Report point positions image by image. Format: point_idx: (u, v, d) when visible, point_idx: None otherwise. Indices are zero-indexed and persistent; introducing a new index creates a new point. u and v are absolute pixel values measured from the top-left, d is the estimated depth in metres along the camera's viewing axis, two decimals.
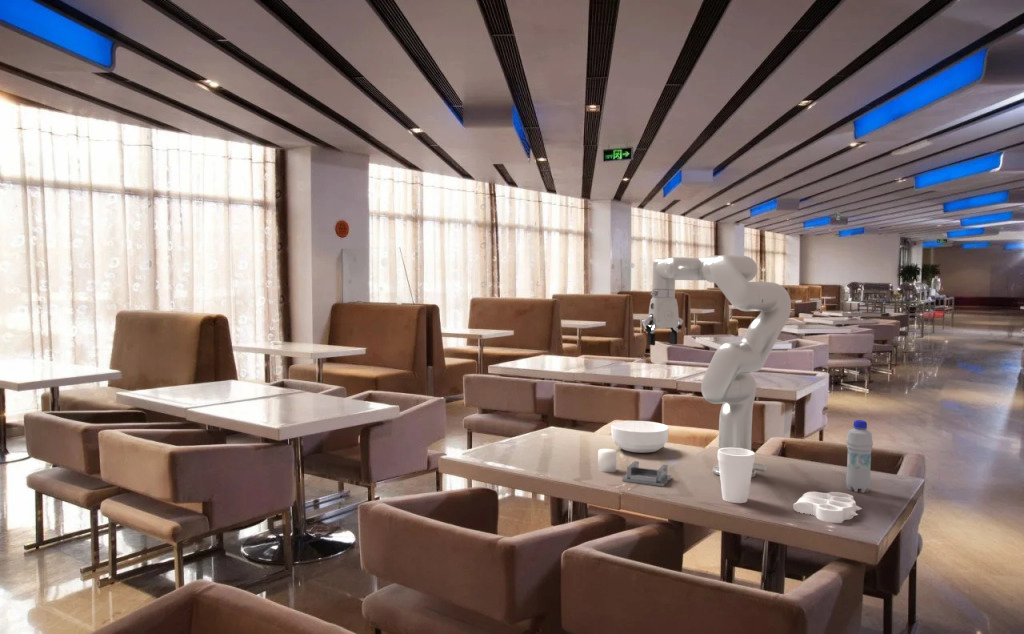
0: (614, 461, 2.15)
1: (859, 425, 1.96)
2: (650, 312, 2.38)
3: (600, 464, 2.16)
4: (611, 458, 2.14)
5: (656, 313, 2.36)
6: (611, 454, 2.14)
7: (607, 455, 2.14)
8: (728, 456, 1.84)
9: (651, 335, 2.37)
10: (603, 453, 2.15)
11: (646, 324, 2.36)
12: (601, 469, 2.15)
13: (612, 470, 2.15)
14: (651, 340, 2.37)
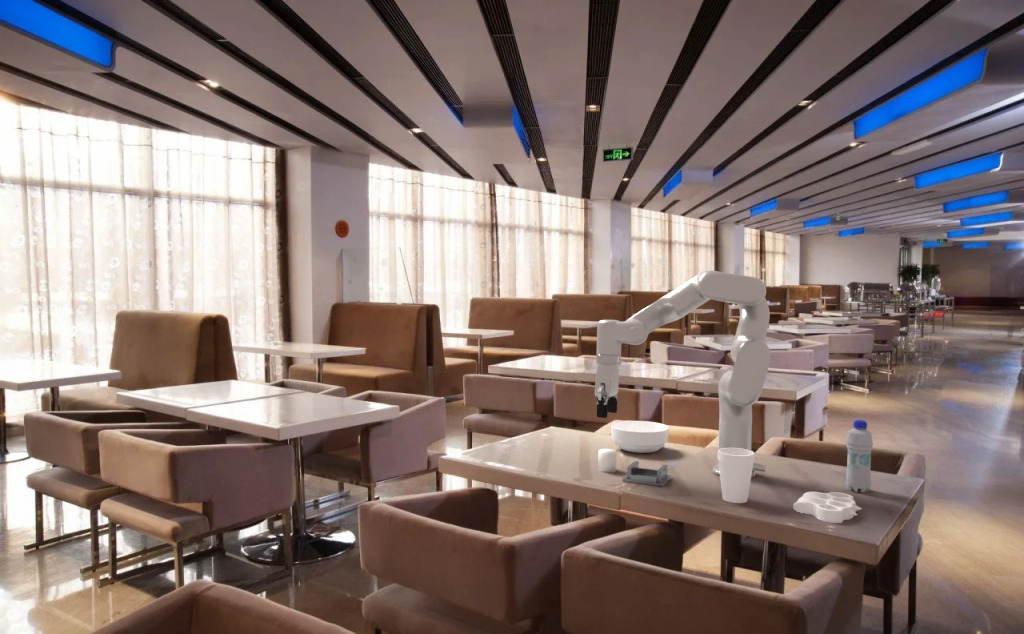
0: (614, 461, 2.15)
1: (859, 425, 1.96)
2: None
3: (600, 464, 2.16)
4: (611, 458, 2.14)
5: None
6: (611, 454, 2.14)
7: (607, 455, 2.14)
8: (728, 456, 1.84)
9: None
10: (603, 453, 2.15)
11: None
12: (601, 469, 2.15)
13: (612, 470, 2.15)
14: None
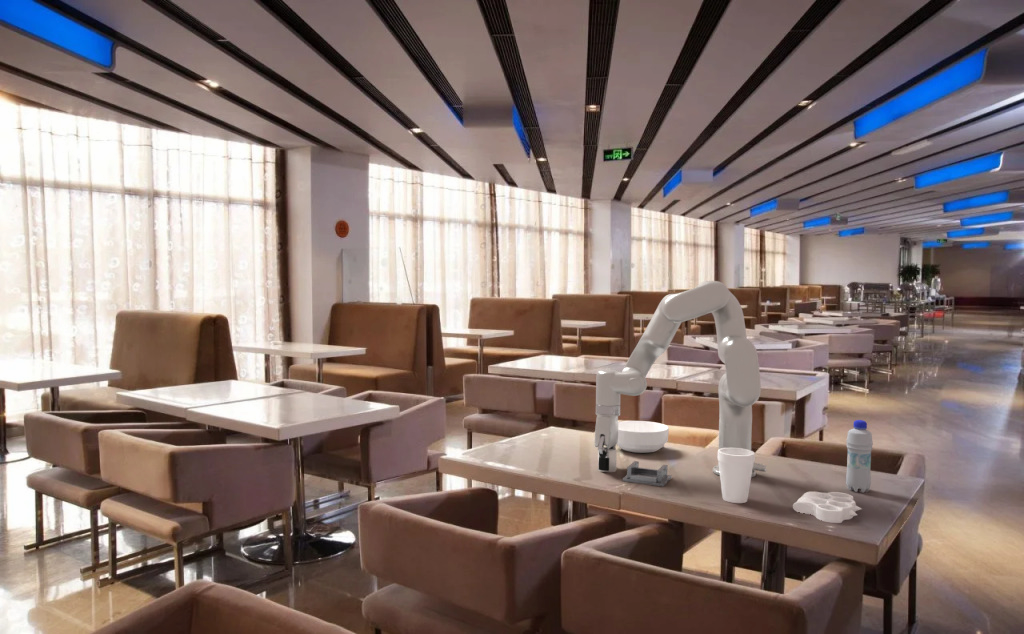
0: (614, 461, 2.15)
1: (859, 425, 1.96)
2: None
3: None
4: (611, 458, 2.14)
5: None
6: (611, 454, 2.14)
7: None
8: (728, 456, 1.84)
9: None
10: None
11: None
12: None
13: (612, 470, 2.15)
14: None
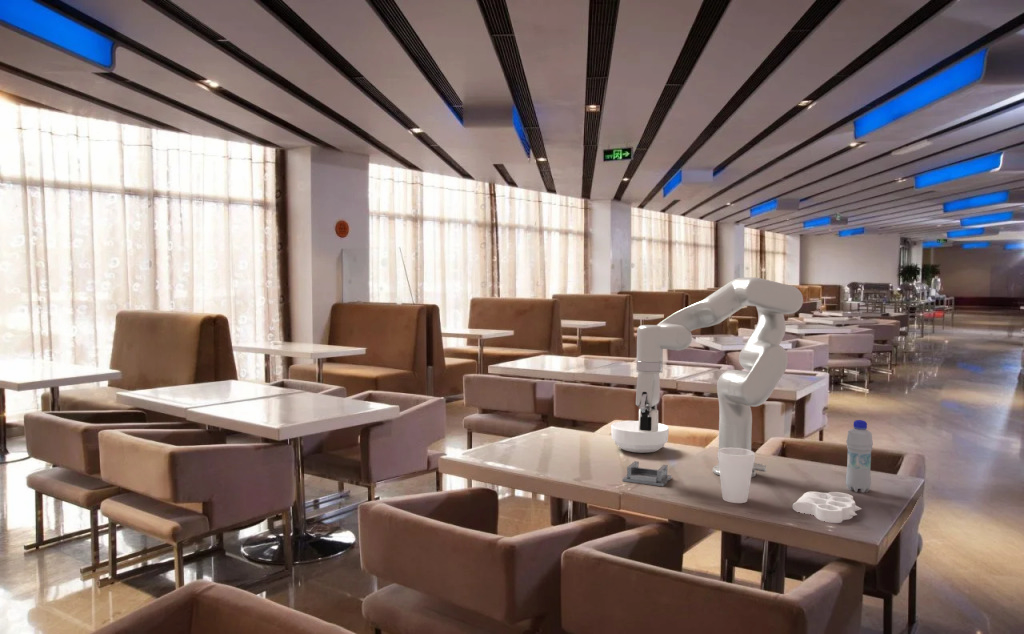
0: (656, 421, 2.04)
1: (859, 425, 1.96)
2: None
3: None
4: (653, 417, 2.03)
5: None
6: (653, 413, 2.03)
7: None
8: (728, 456, 1.84)
9: None
10: None
11: None
12: None
13: (654, 430, 2.04)
14: None
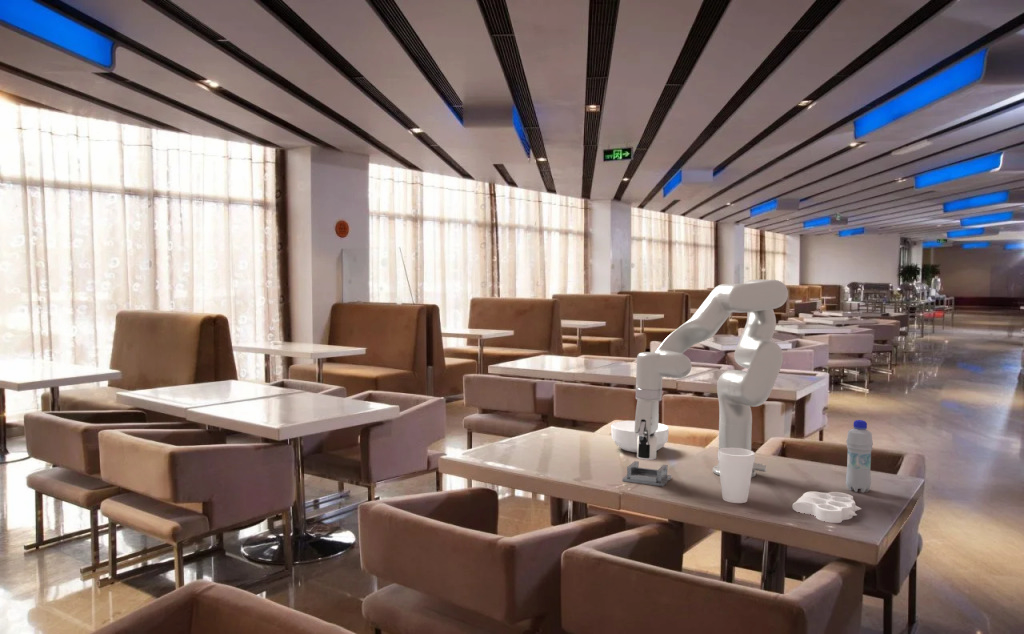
0: (654, 448, 2.04)
1: (859, 425, 1.96)
2: None
3: None
4: (651, 445, 2.04)
5: None
6: (651, 441, 2.03)
7: None
8: (728, 456, 1.84)
9: None
10: None
11: None
12: None
13: (652, 457, 2.04)
14: None
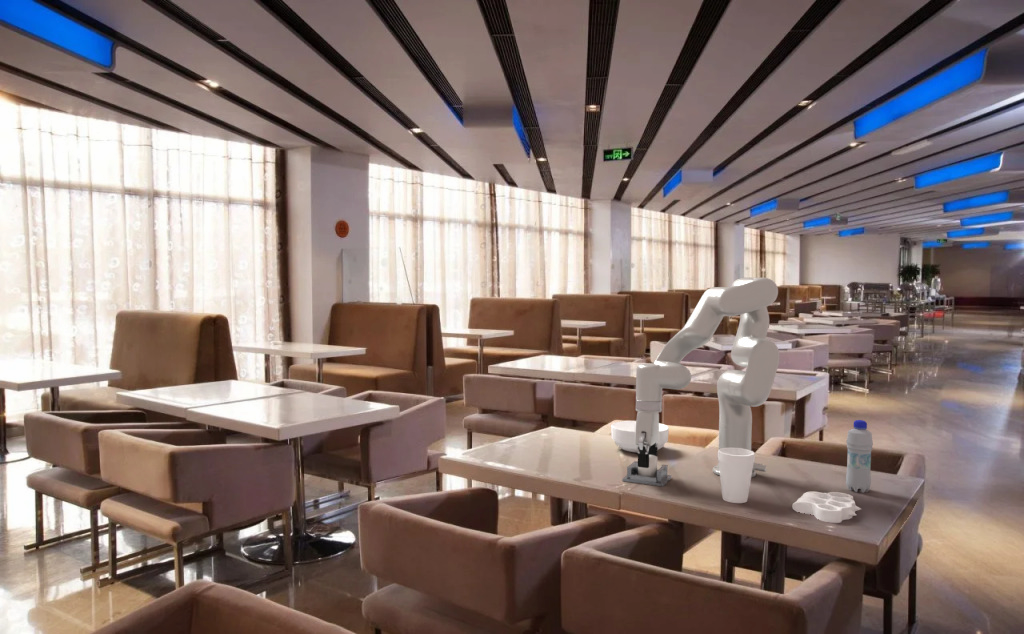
0: (655, 468, 2.05)
1: (859, 425, 1.96)
2: None
3: (640, 471, 2.05)
4: (652, 465, 2.04)
5: None
6: (652, 460, 2.04)
7: None
8: (728, 456, 1.84)
9: None
10: None
11: None
12: None
13: None
14: None
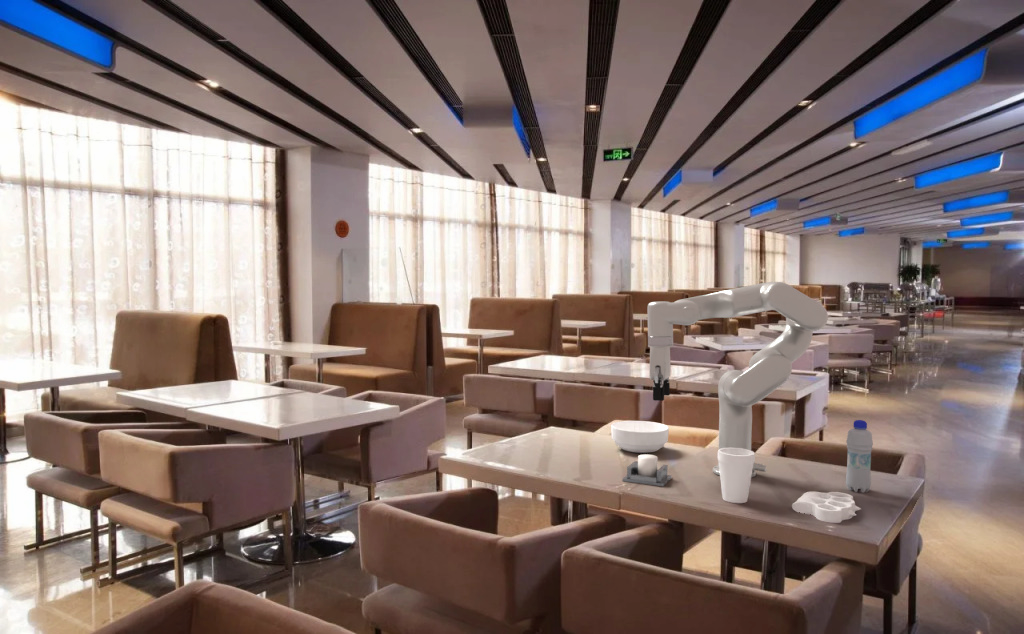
0: (655, 468, 2.05)
1: (859, 425, 1.96)
2: None
3: (640, 471, 2.05)
4: (652, 465, 2.04)
5: None
6: (652, 460, 2.04)
7: (648, 461, 2.04)
8: (728, 456, 1.84)
9: None
10: (644, 459, 2.04)
11: None
12: None
13: None
14: None
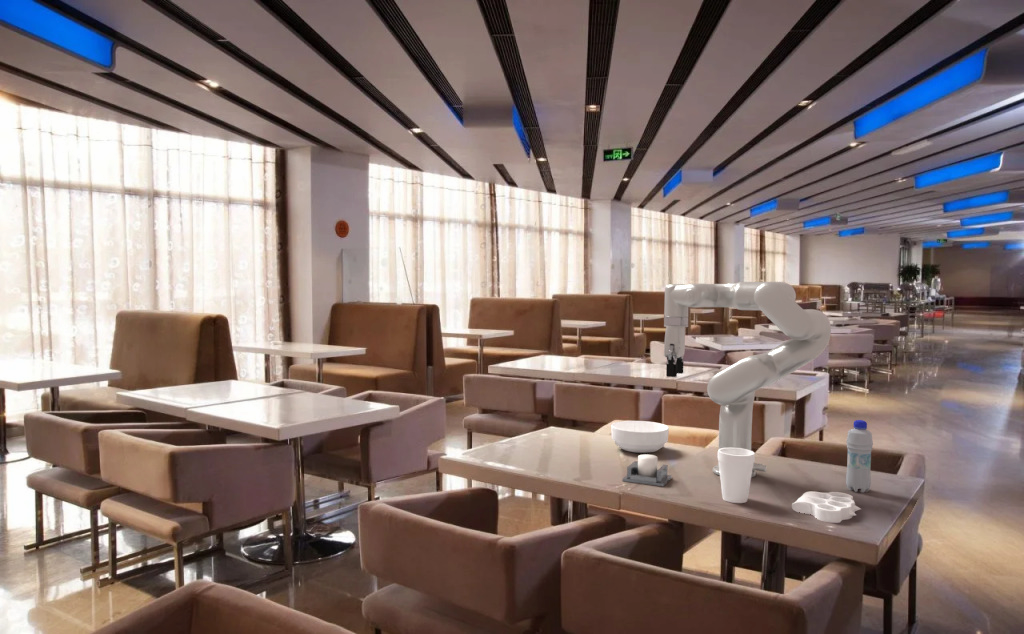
0: (655, 468, 2.05)
1: (859, 425, 1.96)
2: None
3: (640, 471, 2.05)
4: (652, 465, 2.04)
5: None
6: (652, 460, 2.04)
7: (648, 461, 2.04)
8: (728, 456, 1.84)
9: None
10: (644, 459, 2.04)
11: None
12: None
13: None
14: None
